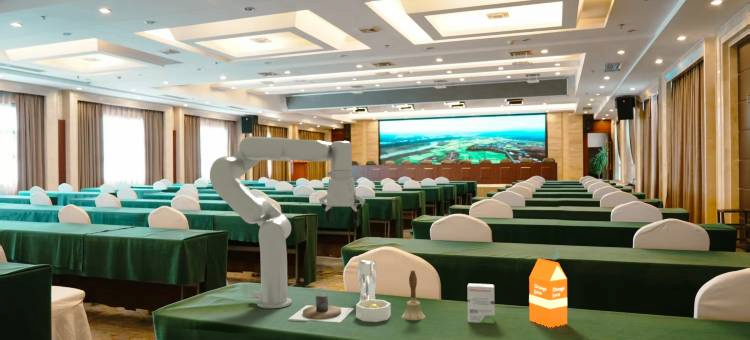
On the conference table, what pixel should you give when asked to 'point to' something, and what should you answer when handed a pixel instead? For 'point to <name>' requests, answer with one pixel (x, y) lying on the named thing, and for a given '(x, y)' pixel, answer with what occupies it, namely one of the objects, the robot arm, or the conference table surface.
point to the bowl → (373, 310)
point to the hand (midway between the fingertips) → (342, 221)
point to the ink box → (481, 303)
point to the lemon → (373, 306)
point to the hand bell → (413, 302)
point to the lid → (322, 309)
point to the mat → (300, 317)
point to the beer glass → (367, 279)
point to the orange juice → (548, 294)
